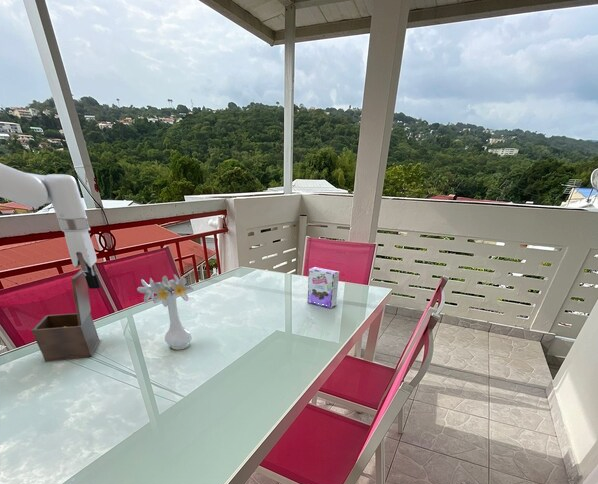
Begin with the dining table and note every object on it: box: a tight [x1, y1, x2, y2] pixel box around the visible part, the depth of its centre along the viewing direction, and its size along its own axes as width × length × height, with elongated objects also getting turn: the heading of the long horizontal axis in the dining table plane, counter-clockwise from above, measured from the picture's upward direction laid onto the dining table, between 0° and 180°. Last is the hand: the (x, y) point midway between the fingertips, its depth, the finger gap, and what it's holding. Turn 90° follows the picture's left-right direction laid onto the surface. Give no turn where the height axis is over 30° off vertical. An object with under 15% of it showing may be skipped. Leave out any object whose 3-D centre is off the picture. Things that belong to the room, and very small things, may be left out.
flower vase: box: [136, 273, 194, 351], centre depth 114 cm, size 13×18×25 cm
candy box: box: [307, 266, 340, 309], centre depth 160 cm, size 14×6×16 cm, turn 55°
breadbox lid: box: [70, 268, 92, 325], centre depth 108 cm, size 15×14×1 cm
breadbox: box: [31, 312, 100, 362], centre depth 113 cm, size 14×14×11 cm
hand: (95, 287), depth 108 cm, fingers closed
